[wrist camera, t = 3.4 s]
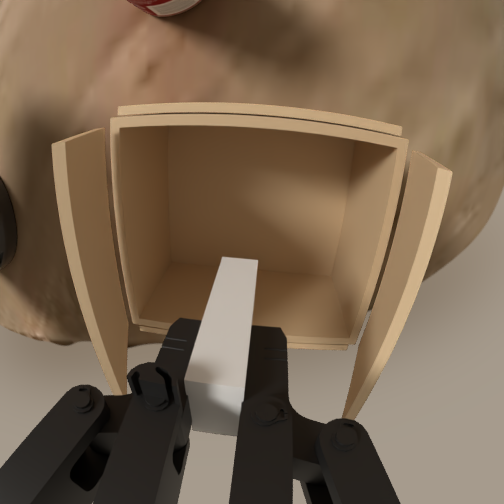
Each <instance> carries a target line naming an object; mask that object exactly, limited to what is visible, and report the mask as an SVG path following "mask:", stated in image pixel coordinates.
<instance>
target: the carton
mask: <svg viewBox="0 0 504 504" xmlns="http://www.w3.org/2000/svg"><path fill="white" fill-rule="evenodd" d="M165 112H228V113H165ZM144 113H158V114H144ZM237 113H249V114H237ZM129 114H144V115H133V116H123V117H114V118H110V146H111V170H112V186H113V199H114V209H115V219H116V228H117V236H118V244H119V251H120V258H121V264H122V270H123V276H124V282H125V288H126V293H127V298H128V303H129V308H130V313H131V318H132V322H133V324H139V327H140V331H145V332H151V333H157V334H163V335H167V332H168V330H169V328H170V326H171V325H172V324H173V323H174V322H175V321H176V320H178V319H179V318H187V319H195V320H202V319H203V316H204V313H205V310H206V306H207V303H208V300H209V297H210V294H211V291H212V288H213V285H214V281H215V278H216V275H217V272H218V269H219V266H220V263H221V260H222V257H230V258H241V259H252V260H258V267H257V278H256V289H255V300H254V311H253V321H252V325H258V326H270V327H281V329H282V331H283V332H284V334H285V336H286V337H287V348H295V349H297V348H298V349H317V350H347V347H348V344H356V341H357V338H358V335H359V333H360V330H361V328H362V325H363V322H364V319H365V316H366V313H367V311H368V308H369V305H370V302H371V299H372V296H373V292H374V289H375V286H376V283H377V280H378V276H379V273H380V270H381V266H382V263H383V259H384V256H385V252H386V248H387V245H388V241H389V237H390V233H391V229H392V225H393V221H394V216H395V212H396V207H397V203H398V198H399V193H400V188H401V183H402V178H403V173H404V167H405V161H406V155H407V149H408V142H409V140H408V139H405V138H401V137H397V136H393V135H390V134H386V133H381V132H377V131H382V132H387V133H391V134H395V135H400V136H401V132H402V127H401V126H397V125H393V124H388V123H384V122H380V121H375V120H370V119H365V118H360V117H355V116H349V115H344V114H338V113H331V112H325V111H318V110H311V109H303V108H294V107H284V106H273V105H261V104H244V103H214V102H189V103H159V104H143V105H130V106H120V107H118V115H129ZM255 114H264V115H255ZM269 115H276V116H269ZM280 116H286V117H280ZM290 117H296V118H290ZM299 118H304V119H299ZM307 119H312V120H307ZM315 120H320V121H315ZM322 121H327V122H322ZM329 122H333V123H329ZM336 123H339V124H336ZM342 124H345V125H342ZM348 125H351V126H348ZM353 126H357V127H353ZM359 127H362V128H359ZM364 128H367V129H364ZM368 129H372V130H368ZM373 130H377V131H373Z"/></svg>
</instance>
